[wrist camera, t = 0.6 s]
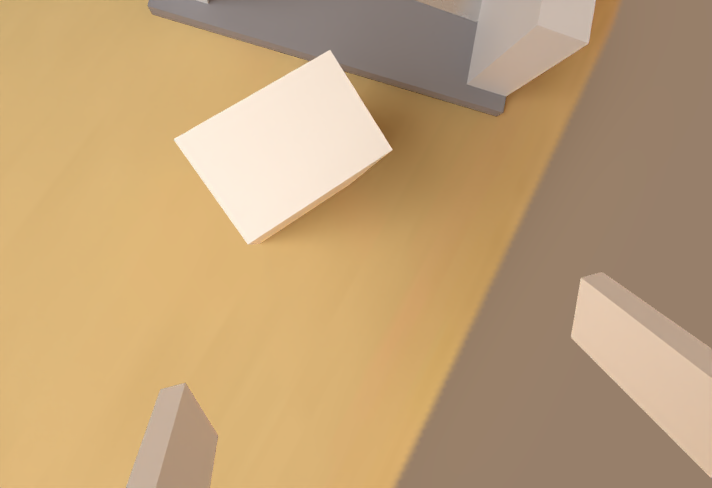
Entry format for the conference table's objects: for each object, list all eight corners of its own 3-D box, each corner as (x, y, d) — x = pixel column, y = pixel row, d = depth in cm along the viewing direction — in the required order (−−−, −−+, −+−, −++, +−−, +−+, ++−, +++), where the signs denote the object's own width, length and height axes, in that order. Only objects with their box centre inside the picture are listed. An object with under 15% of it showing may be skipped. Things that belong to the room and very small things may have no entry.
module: (466, 84, 32) (537, 25, 23) (486, -26, 33) (563, -125, 24) (505, 96, 33) (588, 43, 24) (524, -11, 33) (612, -102, 25)
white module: (215, 181, 29) (173, 139, 17) (312, 122, 30) (334, 47, 19) (259, 243, 30) (247, 244, 18) (352, 182, 31) (397, 146, 19)
